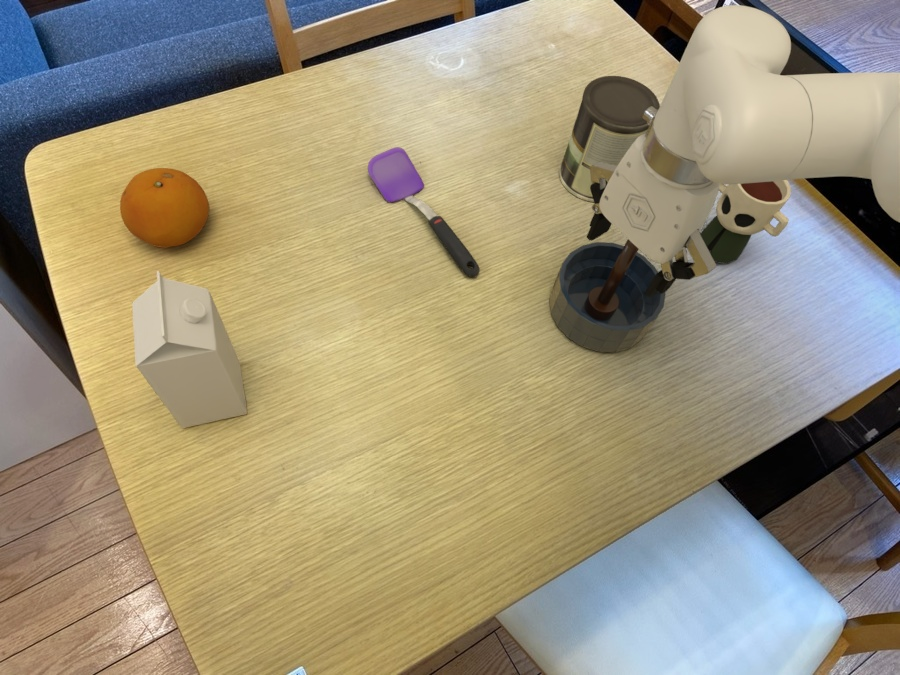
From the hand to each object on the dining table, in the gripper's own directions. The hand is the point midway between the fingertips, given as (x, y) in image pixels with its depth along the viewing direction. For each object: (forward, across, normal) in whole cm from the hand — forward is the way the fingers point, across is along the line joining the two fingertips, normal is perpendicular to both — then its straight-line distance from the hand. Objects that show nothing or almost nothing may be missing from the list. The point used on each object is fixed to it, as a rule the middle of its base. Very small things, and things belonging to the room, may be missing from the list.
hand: (625, 261), depth 73 cm
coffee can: (+11, -18, +16) cm, 27 cm away
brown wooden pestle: (+10, 0, 0) cm, 10 cm away
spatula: (+11, -25, -10) cm, 29 cm away
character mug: (+11, +2, +22) cm, 25 cm away
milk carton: (+11, -17, -46) cm, 50 cm away
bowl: (+11, 0, 0) cm, 11 cm away
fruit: (+11, -42, -39) cm, 58 cm away
